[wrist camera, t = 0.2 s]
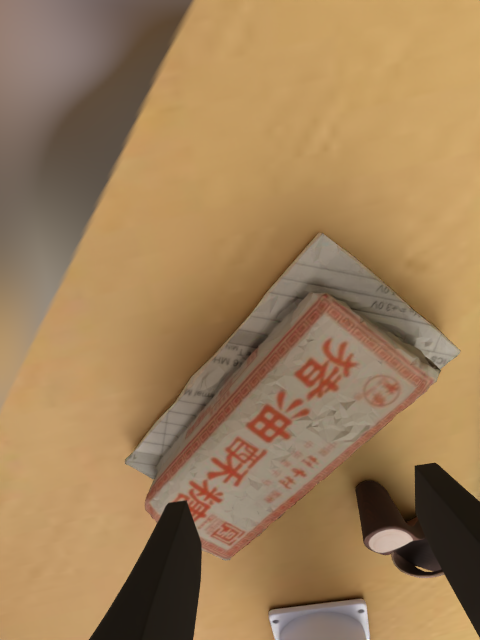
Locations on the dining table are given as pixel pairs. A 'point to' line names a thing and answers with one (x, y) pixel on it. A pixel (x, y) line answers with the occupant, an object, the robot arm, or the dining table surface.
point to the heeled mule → (394, 532)
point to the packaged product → (289, 397)
